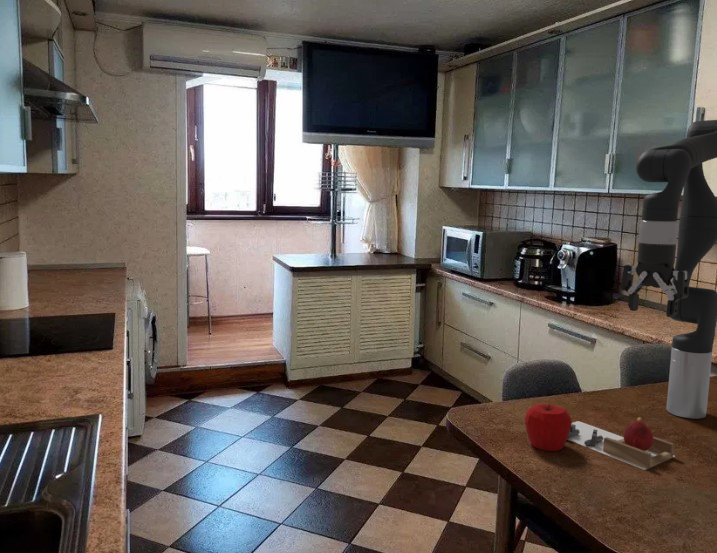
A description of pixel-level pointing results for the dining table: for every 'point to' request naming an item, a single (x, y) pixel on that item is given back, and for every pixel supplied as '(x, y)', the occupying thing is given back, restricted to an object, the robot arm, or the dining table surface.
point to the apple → (548, 426)
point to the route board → (596, 439)
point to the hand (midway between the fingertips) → (651, 313)
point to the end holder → (640, 451)
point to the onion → (638, 435)
